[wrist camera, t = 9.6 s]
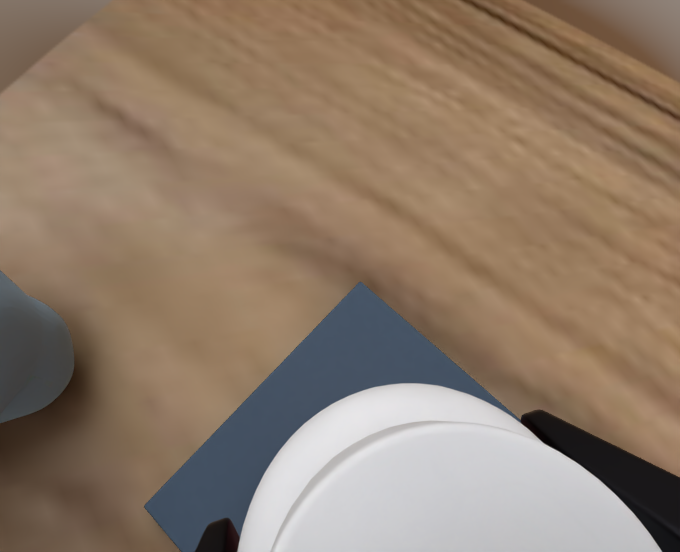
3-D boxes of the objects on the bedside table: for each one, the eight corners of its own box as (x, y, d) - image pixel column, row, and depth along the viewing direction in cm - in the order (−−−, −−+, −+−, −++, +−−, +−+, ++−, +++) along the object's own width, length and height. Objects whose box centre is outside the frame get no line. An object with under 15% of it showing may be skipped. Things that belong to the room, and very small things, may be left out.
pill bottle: (342, 372, 16) (362, 260, 6) (495, 463, 15) (868, 532, 5) (248, 539, 14) (6, 845, 4) (417, 655, 13) (751, 1544, 3)
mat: (586, 482, 15) (595, 484, 15) (388, 787, 12) (391, 804, 12) (359, 285, 18) (360, 280, 17) (149, 503, 15) (142, 506, 14)
